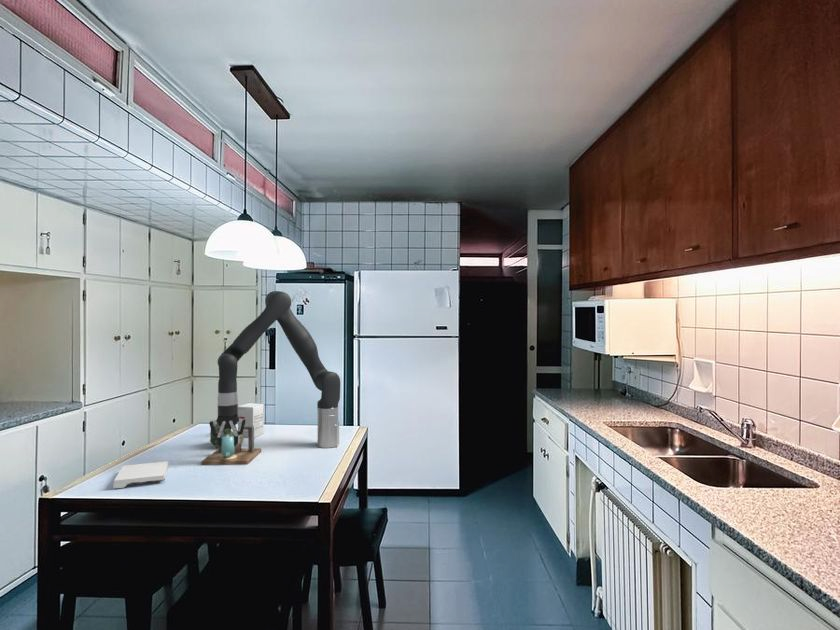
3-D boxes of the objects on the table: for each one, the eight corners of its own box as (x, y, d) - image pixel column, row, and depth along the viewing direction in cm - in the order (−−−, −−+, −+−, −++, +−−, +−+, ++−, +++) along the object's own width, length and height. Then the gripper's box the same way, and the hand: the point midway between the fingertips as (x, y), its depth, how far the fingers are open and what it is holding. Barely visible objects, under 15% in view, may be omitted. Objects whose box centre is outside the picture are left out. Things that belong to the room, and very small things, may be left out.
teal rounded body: (234, 455, 193) (234, 437, 193) (220, 457, 191) (220, 438, 191) (235, 449, 201) (234, 432, 201) (221, 451, 200) (221, 433, 200)
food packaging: (123, 474, 184) (113, 490, 165) (123, 465, 184) (113, 480, 166) (168, 470, 190) (163, 485, 171) (168, 461, 190) (163, 475, 172)
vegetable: (246, 443, 216) (213, 432, 210) (233, 459, 221) (200, 449, 215) (250, 422, 226) (219, 411, 219) (238, 438, 231) (207, 428, 225)
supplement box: (237, 437, 236) (236, 406, 236) (248, 432, 245) (248, 402, 245) (253, 438, 234) (252, 406, 234) (264, 433, 242) (264, 403, 242)
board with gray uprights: (261, 451, 210) (261, 423, 210) (247, 464, 192) (247, 434, 192) (219, 452, 210) (219, 424, 210) (201, 465, 192) (200, 434, 192)
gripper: (207, 406, 191) (207, 449, 191) (246, 403, 195) (246, 446, 195) (209, 402, 198) (210, 444, 198) (247, 400, 202) (247, 442, 202)
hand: (228, 445), depth 196 cm, fingers closed on teal rounded body, 5 cm apart
